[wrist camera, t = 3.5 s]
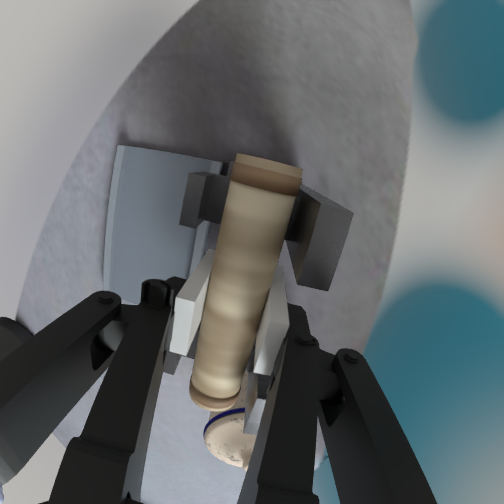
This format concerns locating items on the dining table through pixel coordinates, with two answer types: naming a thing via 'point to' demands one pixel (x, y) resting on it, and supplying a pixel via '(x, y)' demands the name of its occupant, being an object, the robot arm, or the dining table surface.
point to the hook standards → (300, 250)
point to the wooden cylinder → (241, 276)
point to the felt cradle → (150, 220)
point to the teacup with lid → (230, 432)
